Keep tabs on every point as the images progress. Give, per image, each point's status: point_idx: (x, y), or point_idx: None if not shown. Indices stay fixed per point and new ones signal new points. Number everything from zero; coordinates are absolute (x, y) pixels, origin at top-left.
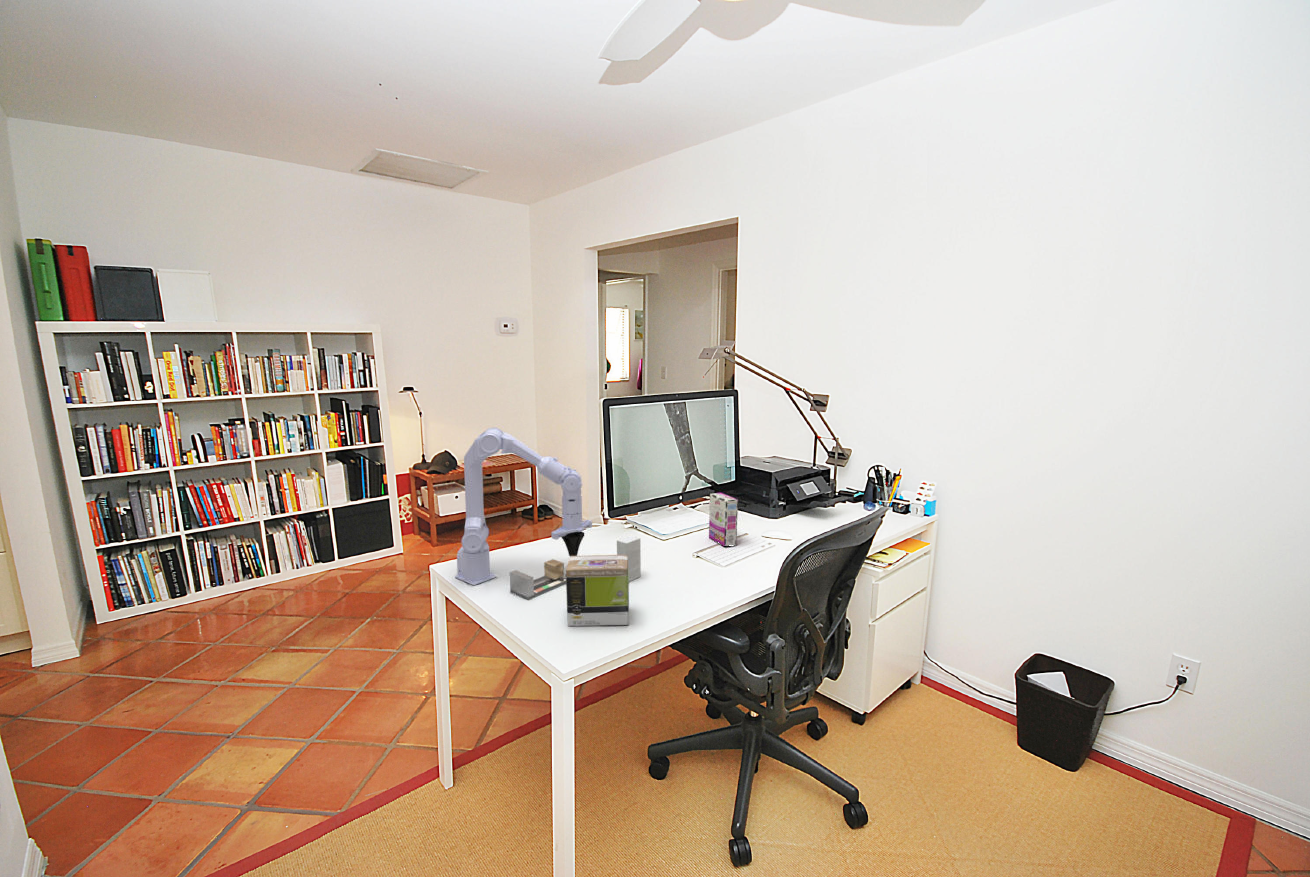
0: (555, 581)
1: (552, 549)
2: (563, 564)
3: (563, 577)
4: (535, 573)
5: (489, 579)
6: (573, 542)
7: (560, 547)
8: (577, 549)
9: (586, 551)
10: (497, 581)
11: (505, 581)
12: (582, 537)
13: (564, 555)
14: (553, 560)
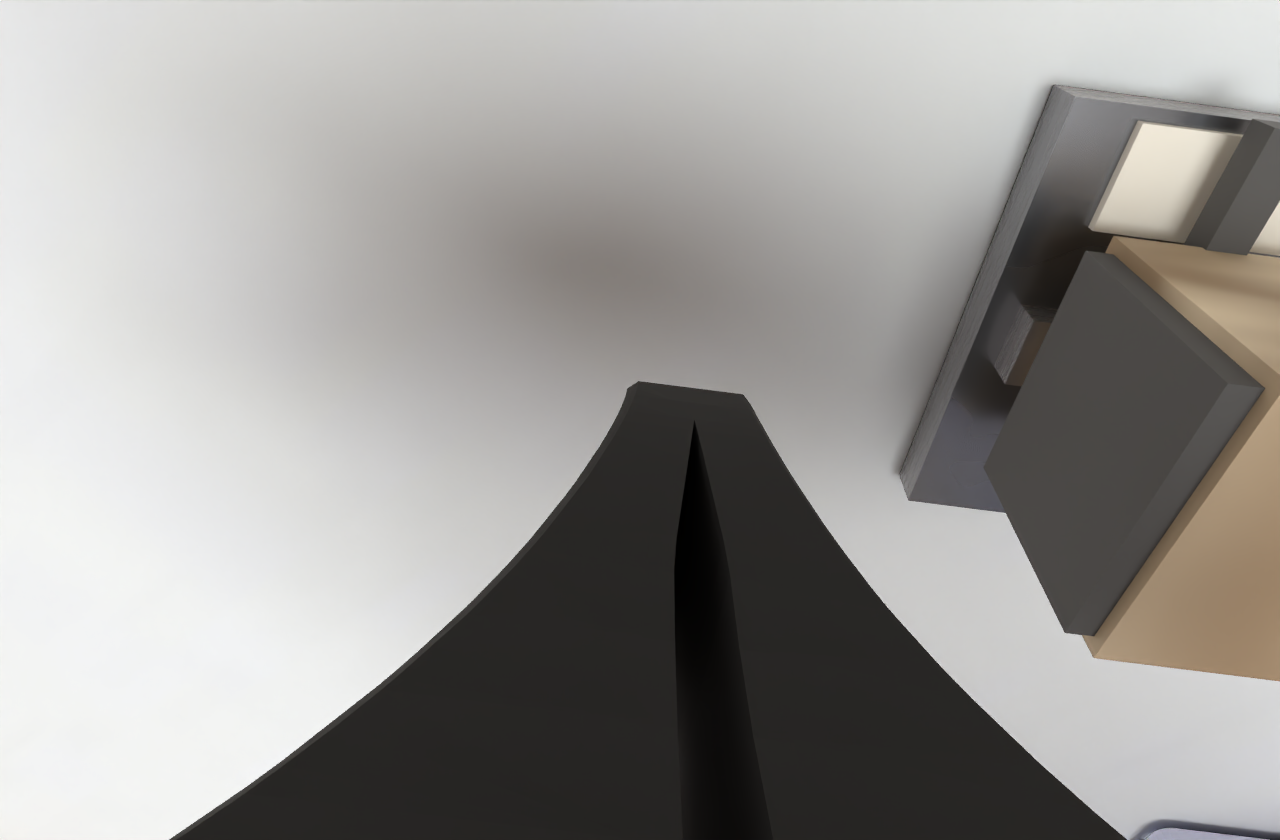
0: (1266, 253)
1: None
2: (1209, 362)
3: (1016, 256)
4: (919, 639)
5: (1247, 837)
6: (1049, 809)
7: (205, 780)
8: (641, 480)
9: (10, 561)
10: (1257, 779)
11: (1241, 735)
12: (308, 837)
13: (308, 669)
14: (1168, 615)
